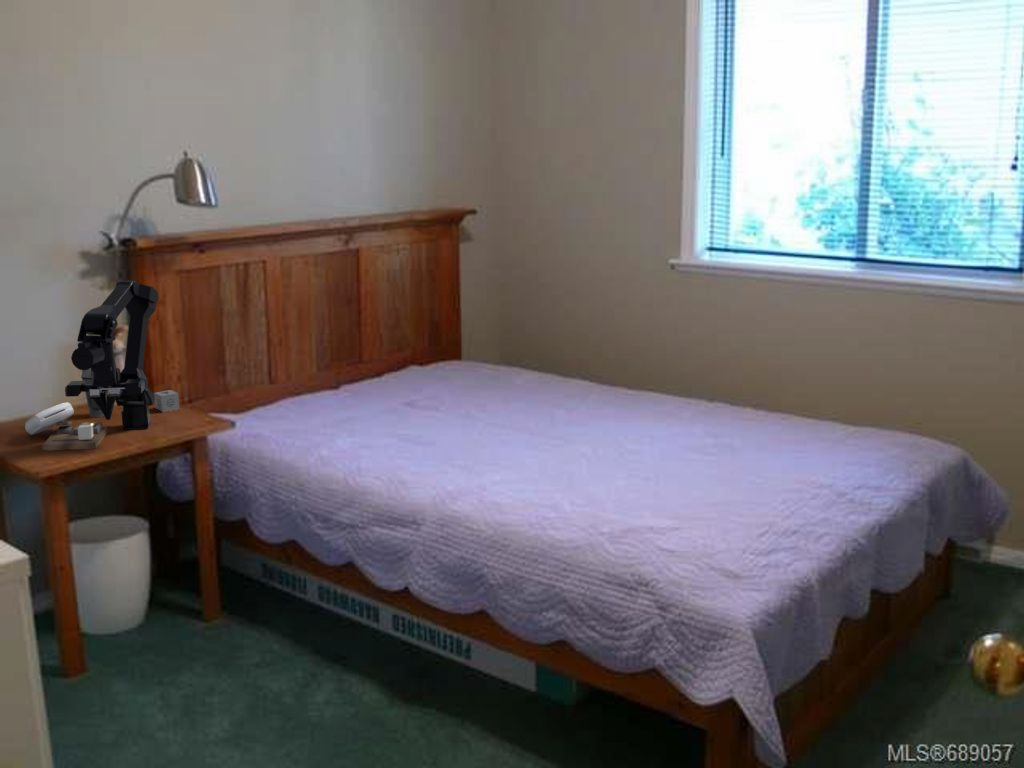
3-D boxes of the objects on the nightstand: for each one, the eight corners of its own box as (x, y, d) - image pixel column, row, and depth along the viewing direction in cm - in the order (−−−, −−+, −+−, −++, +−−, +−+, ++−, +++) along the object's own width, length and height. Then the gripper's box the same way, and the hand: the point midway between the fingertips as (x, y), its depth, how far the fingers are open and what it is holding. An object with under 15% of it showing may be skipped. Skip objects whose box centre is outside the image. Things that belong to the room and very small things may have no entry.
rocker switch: (72, 424, 294) (72, 421, 294) (67, 425, 290) (67, 422, 290) (61, 424, 294) (61, 421, 294) (56, 425, 289) (56, 422, 289)
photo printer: (57, 408, 301) (71, 398, 291) (65, 422, 301) (78, 412, 291) (21, 422, 294) (34, 413, 285) (29, 437, 294) (41, 427, 285)
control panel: (107, 432, 297) (106, 422, 296) (95, 448, 283) (94, 437, 283) (56, 434, 295) (55, 424, 294) (42, 450, 282) (41, 439, 281)
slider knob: (93, 435, 287) (92, 424, 287) (90, 439, 285) (89, 428, 284) (81, 436, 287) (80, 425, 286) (78, 439, 284) (77, 428, 283)
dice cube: (172, 406, 323) (170, 389, 321) (179, 409, 319) (178, 393, 318) (155, 409, 320) (154, 392, 318) (163, 413, 316) (161, 396, 315)
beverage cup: (93, 411, 317) (86, 343, 312) (117, 412, 316) (110, 344, 311) (80, 418, 310) (72, 349, 305) (104, 419, 309) (97, 349, 304)
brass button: (96, 428, 295) (95, 421, 294) (93, 432, 292) (92, 424, 291) (83, 429, 294) (83, 421, 294) (81, 432, 291) (80, 425, 291)
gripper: (146, 352, 291) (151, 409, 295) (72, 355, 288) (78, 412, 292) (138, 362, 280) (143, 421, 284) (61, 365, 277) (68, 424, 281)
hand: (108, 419), depth 286 cm, fingers closed
